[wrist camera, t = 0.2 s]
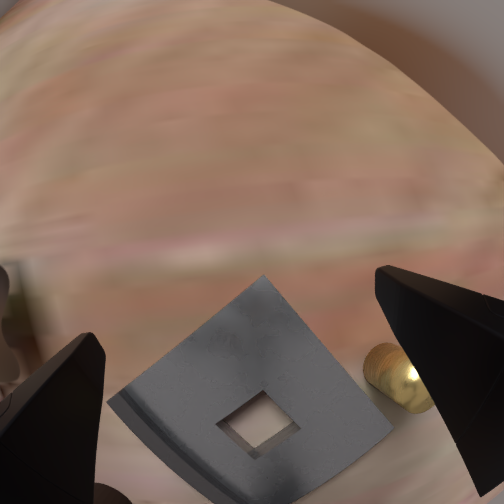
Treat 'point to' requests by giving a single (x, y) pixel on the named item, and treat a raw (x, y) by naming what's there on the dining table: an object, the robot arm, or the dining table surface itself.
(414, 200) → the dining table surface
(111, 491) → the coffee mug
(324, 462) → the jig
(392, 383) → the gold rounded cylinder
